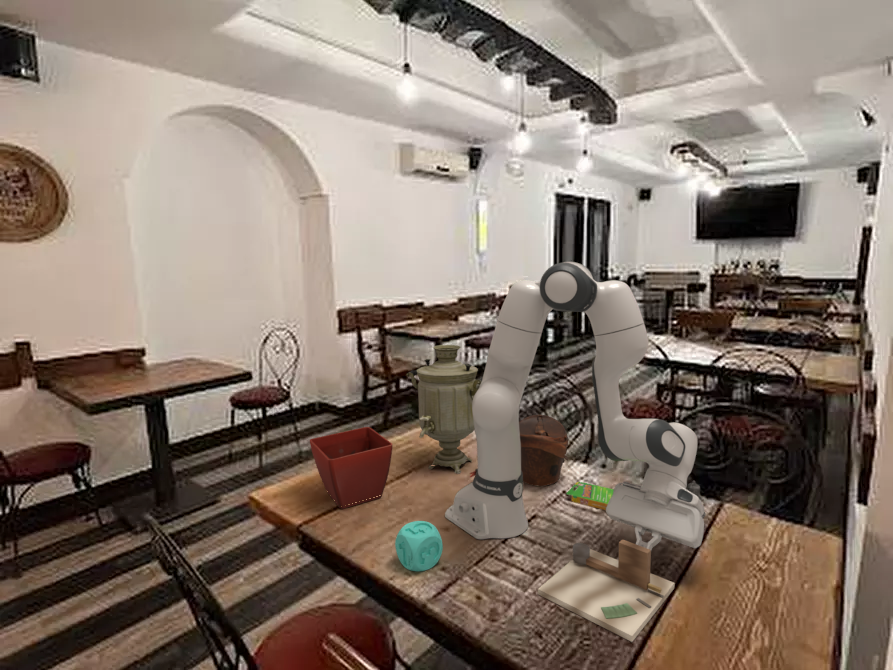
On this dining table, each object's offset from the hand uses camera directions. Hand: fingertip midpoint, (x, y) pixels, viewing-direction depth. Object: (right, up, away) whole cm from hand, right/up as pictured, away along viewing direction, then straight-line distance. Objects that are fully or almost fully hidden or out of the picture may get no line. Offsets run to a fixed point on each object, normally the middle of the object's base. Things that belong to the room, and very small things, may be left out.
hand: (642, 551), depth 111 cm
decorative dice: (-48, -6, +8) cm, 49 cm away
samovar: (-43, +2, +61) cm, 74 cm away
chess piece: (+20, -2, +20) cm, 28 cm away
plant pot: (-69, -1, +42) cm, 81 cm away
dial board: (-9, -6, -4) cm, 12 cm away
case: (-13, +2, +50) cm, 52 cm away
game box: (+3, -1, +33) cm, 34 cm away
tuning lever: (-6, -4, -2) cm, 8 cm away
